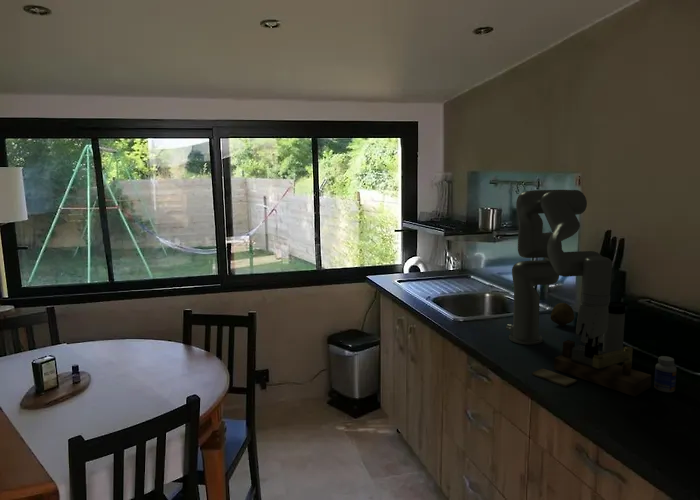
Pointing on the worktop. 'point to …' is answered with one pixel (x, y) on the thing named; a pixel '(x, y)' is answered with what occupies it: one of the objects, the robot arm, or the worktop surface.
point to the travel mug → (614, 327)
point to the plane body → (603, 373)
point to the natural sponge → (562, 314)
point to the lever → (615, 359)
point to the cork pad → (554, 377)
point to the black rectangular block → (583, 357)
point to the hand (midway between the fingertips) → (591, 357)
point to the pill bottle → (665, 374)
